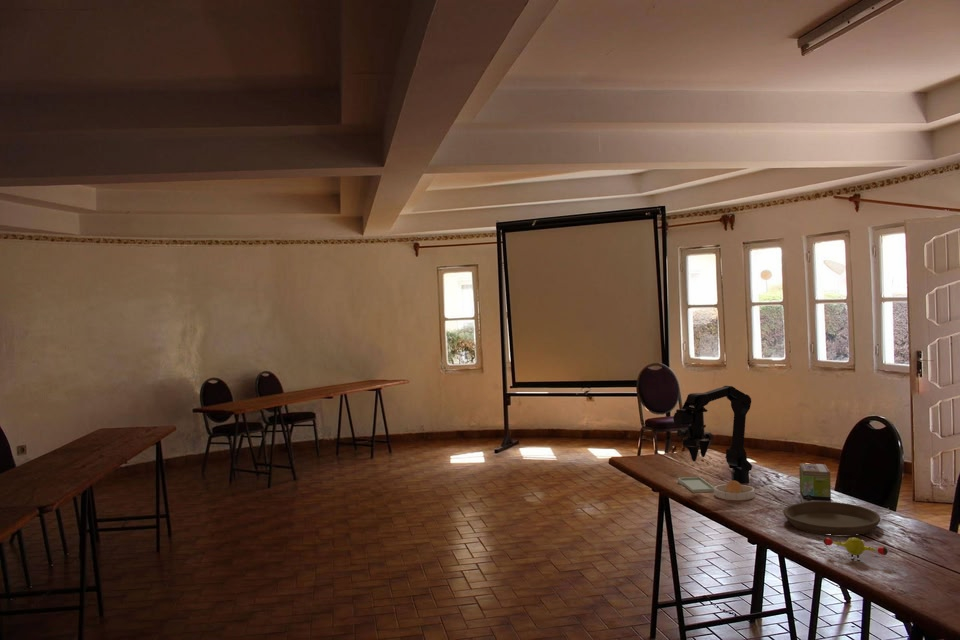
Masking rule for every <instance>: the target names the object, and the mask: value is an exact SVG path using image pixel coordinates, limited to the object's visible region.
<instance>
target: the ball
mask: <svg viewBox="0 0 960 640" xmlns="http://www.w3.org/2000/svg"><path fill="white" fill-rule="evenodd" d="M726 484H727V486H726V488H727V491H728V492H730V493H740V492H741V490H742V486H741V485H742V483H739V482H738V481H735V480H732V479H731V480H730V481H728V482H727V483H726Z"/></svg>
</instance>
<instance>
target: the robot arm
mask: <svg viewBox="0 0 960 640" xmlns="http://www.w3.org/2000/svg"><path fill="white" fill-rule="evenodd" d="M722 398H726V399H727V400H729V401H730V407H731V410H732V412H733V425H732V437H731V446H730V447H729V449H728V448H726V450H725V459H726V463H727V465H728V467H729V468H730V469H731V472H730V474H731V476H730V477H731V481H732V480H735V481H738V482H739V483H740V484H747V483H750V471H752V469H753V465H752V464H751V463H750V462H749V461H748V457H747V456H748V455H747V452H746V450H745V447H744V446H745V444H744V443H745V433H746V432H745V431H746V419H747V413H748V412H749V411H750V409H751V404H752V397H750V395H749V394H746V393H744V392H743V391H741V390H739V389H737V388H736V387H734V386H732V385H723V386H722V387H718V388H715V389H711V390H708V391H704V392H693V393H692V392H690V393H689V394H687V397H686V399H685V401H684V403H683V405H682V407H681V409H679V408H678V409H676V411H675V413H674V414H673V417H672V418H673V422H674V425H676V426H678V427H679V426H686V425H688V426H687V429H683V428H680V429H678V430H677V431H676V437H678V438H679V440H682V441H681V444H682V445H681V446H684V448H686V449H687V450H688V452H689V453H690V457H691V460H692V462H696V461H697V458H698V455H699V450H700V454H701V458H705V456H706V455H707V452H708V449H709V447H710V445H711V442H712V441H713V439H714V437H713V436H714V435H713V434H712V432H705V428H706V427H707V426H706V425H707V424H705V422H704V420H705V419H704V413H707V412H708V411H709V410H708V409H706V408H705V407H706V406H707V405H708V404H709V403H710V402H713V401H716V400H719V399H722Z"/></svg>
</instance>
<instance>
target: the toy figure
mask: <svg viewBox="0 0 960 640" xmlns="http://www.w3.org/2000/svg"><path fill="white" fill-rule="evenodd" d="M823 544H824V545H825V546H832V545H833V544H836V545H837V547H838V546H840V547H841V546H842V547H844V548H845V550H846V551H847V552H848V553H849V554H850V557H854V556H856V559H857V558H860V555H862V554H863V553H864V552H865V551H870V552H873V551H877V552H878V554H879V555H881V556H887V555H888V552H889V551H888V549H887V547H885V546H880V547H878V548H877V549H876V548H874V547H872V546H866V545H865V544H866V541H865V540H863V539H860V538H858V537H856V536H851V537H849V538H848V539H847V540H846V541H845V542H841V541H833V539H832V538H830V537H825V538H824V539H823Z"/></svg>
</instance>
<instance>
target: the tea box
mask: <svg viewBox="0 0 960 640" xmlns="http://www.w3.org/2000/svg"><path fill="white" fill-rule="evenodd" d="M798 467H799V498H800V501H801V502H800V503H804V502H832V491H831V490H832V489H831V487H832V486H831V471H830V469H829V468H828V466H827V465H826V463H824V464H823V463H799V465H798Z"/></svg>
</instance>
